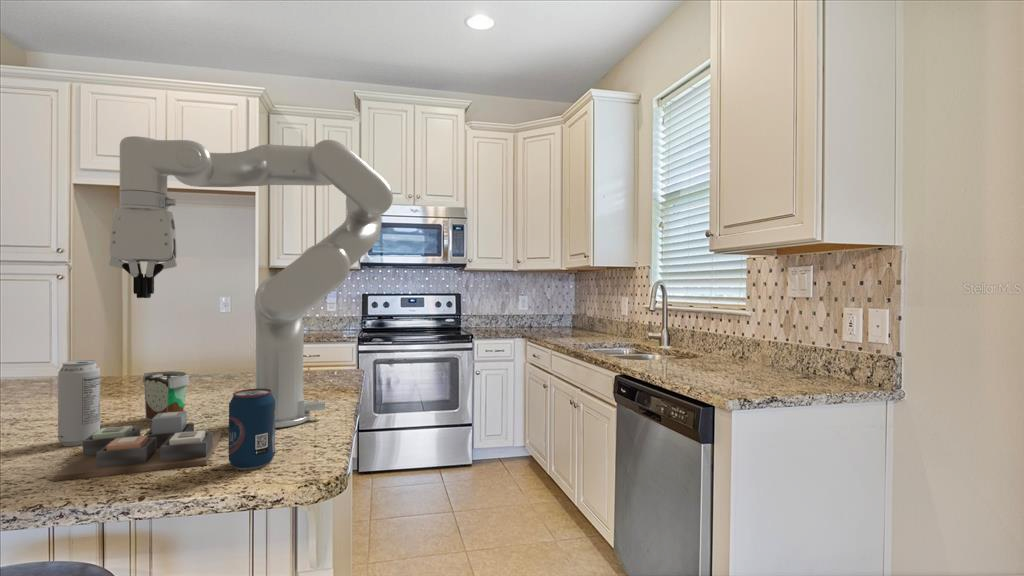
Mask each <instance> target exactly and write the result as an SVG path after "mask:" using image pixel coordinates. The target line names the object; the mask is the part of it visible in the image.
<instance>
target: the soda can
mask: <svg viewBox="0 0 1024 576" xmlns="http://www.w3.org/2000/svg"><path fill="white" fill-rule="evenodd" d="M275 454H276V428H275V399H274V397H273V395H272V391H271V390H270V389H255V388H247V389H242V390H241V389H240V390H237V391H234V392H233V393H232V397H231V400H230V401H229V403H228V461H229V463H230V464H231V466H232V467H233V468H234V469H235V468H236V470H242V471H244V470H247V469H248V470H255V469H256V470H257V469H259V468H263V467H266V466H268V465H269V464H271V462H272V460H273V458H274V457H275ZM248 470H247V471H248Z"/></svg>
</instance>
